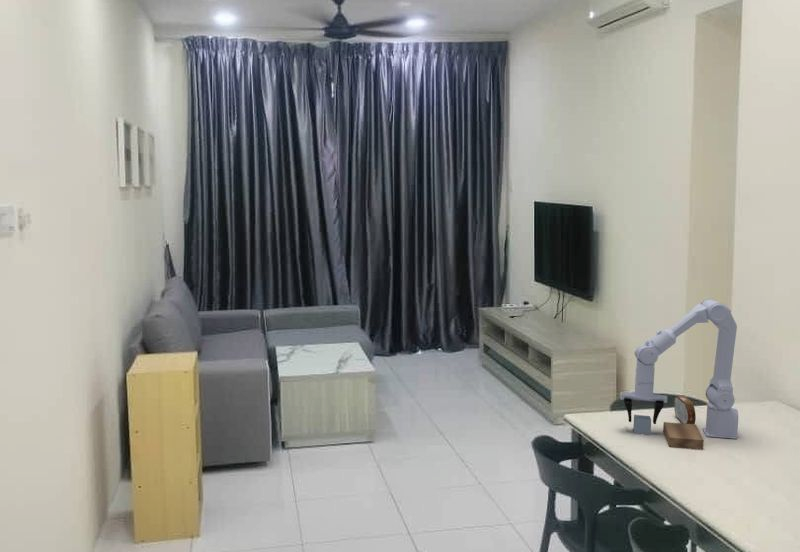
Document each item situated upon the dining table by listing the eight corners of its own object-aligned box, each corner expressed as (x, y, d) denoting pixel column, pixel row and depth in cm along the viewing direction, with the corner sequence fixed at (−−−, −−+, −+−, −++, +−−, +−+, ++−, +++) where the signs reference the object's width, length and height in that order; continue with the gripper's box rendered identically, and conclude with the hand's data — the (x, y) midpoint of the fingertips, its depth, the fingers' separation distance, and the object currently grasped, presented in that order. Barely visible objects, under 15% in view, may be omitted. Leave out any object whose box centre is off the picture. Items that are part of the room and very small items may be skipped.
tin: (695, 429, 268) (697, 404, 267) (686, 429, 268) (687, 404, 267) (681, 415, 283) (682, 392, 282) (672, 415, 283) (673, 392, 282)
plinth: (695, 433, 263) (695, 424, 263) (703, 449, 248) (703, 440, 247) (663, 430, 265) (663, 422, 265) (668, 446, 250) (669, 437, 249)
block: (648, 430, 266) (649, 415, 265) (650, 435, 261) (651, 420, 260) (633, 429, 267) (634, 414, 266) (634, 434, 262) (635, 419, 261)
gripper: (666, 380, 264) (663, 420, 266) (620, 376, 267) (618, 416, 269) (669, 385, 257) (666, 426, 259) (622, 382, 260) (619, 423, 262)
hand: (642, 422), depth 263 cm, fingers open, 7 cm apart
